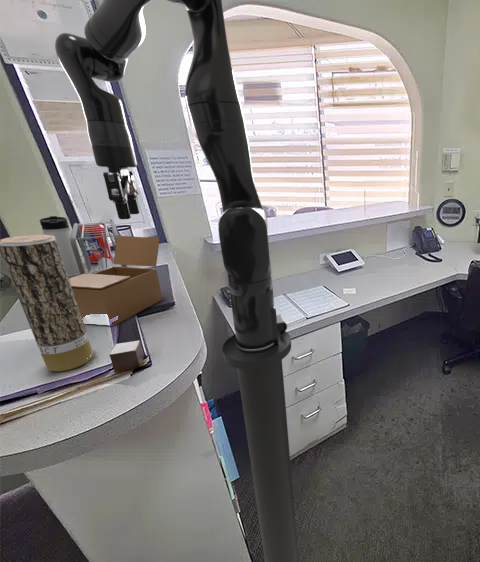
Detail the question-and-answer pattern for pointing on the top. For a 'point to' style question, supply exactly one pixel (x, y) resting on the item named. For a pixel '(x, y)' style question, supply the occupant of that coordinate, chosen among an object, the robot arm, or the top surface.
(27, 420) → the top surface
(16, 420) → the top surface
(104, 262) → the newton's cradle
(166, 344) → the top surface
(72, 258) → the travel mug
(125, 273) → the carton
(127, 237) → the flap
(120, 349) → the block
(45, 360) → the paper tube
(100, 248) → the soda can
